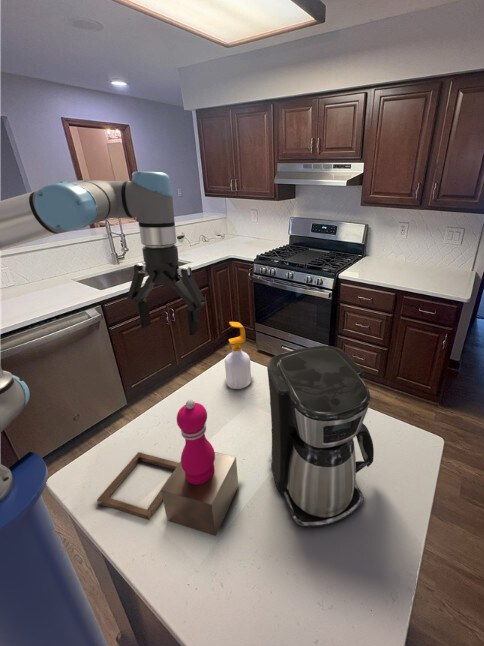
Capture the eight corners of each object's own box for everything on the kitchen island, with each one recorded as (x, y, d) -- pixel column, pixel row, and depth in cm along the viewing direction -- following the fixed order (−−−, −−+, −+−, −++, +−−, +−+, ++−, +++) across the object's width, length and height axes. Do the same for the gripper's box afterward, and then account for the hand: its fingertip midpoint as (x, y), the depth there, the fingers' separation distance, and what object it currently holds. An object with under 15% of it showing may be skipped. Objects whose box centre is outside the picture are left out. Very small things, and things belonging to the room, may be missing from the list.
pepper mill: (216, 483, 67) (208, 410, 60) (182, 490, 66) (168, 416, 58) (216, 456, 74) (208, 387, 66) (184, 461, 72) (172, 391, 65)
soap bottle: (223, 378, 118) (218, 320, 109) (246, 372, 122) (242, 315, 113) (231, 392, 111) (226, 331, 101) (254, 385, 115) (252, 325, 105)
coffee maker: (321, 553, 64) (330, 427, 51) (232, 457, 86) (222, 351, 72) (380, 484, 78) (400, 371, 65) (291, 416, 100) (292, 322, 87)
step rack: (98, 504, 73) (87, 473, 69) (139, 456, 86) (132, 428, 82) (213, 541, 66) (209, 509, 62) (240, 482, 78) (237, 453, 75)
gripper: (217, 246, 72) (221, 329, 79) (125, 239, 77) (137, 318, 85) (200, 251, 65) (207, 342, 72) (101, 244, 71) (116, 329, 78)
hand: (169, 329), depth 78 cm, fingers open, 13 cm apart
